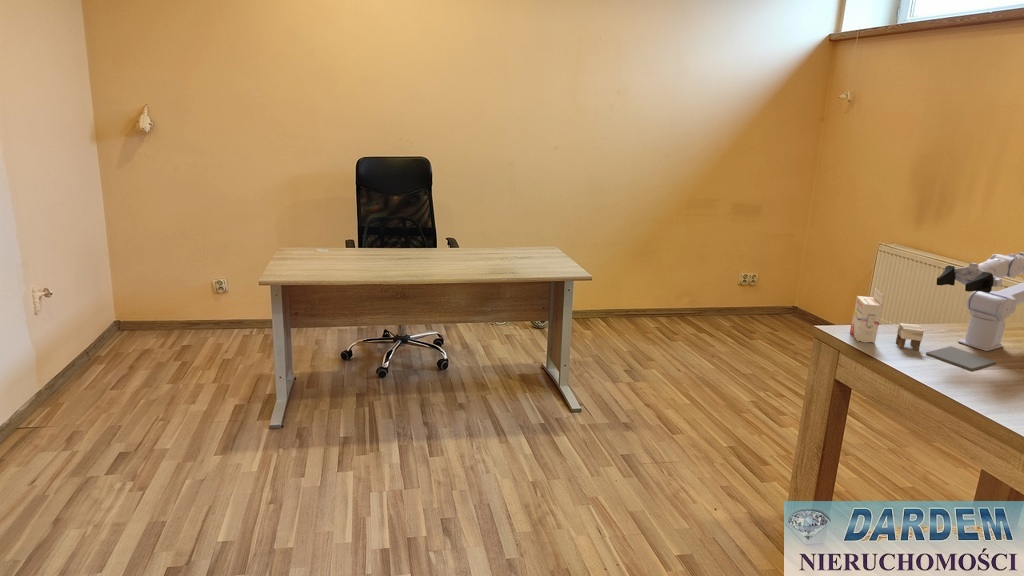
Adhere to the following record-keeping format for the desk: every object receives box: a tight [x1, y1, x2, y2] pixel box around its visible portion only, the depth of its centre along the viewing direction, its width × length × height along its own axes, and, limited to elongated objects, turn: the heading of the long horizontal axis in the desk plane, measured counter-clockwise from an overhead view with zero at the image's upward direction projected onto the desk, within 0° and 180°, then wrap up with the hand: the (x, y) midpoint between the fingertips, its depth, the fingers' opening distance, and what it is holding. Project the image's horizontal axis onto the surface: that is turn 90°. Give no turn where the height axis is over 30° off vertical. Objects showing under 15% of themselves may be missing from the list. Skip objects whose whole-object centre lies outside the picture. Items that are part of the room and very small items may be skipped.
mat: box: [925, 345, 997, 371], centre depth 178 cm, size 12×12×1 cm
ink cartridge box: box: [849, 287, 884, 344], centre depth 190 cm, size 9×5×15 cm, turn 169°
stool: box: [895, 322, 925, 351], centre depth 185 cm, size 5×5×6 cm
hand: (952, 284), depth 175 cm, fingers open, 7 cm apart
